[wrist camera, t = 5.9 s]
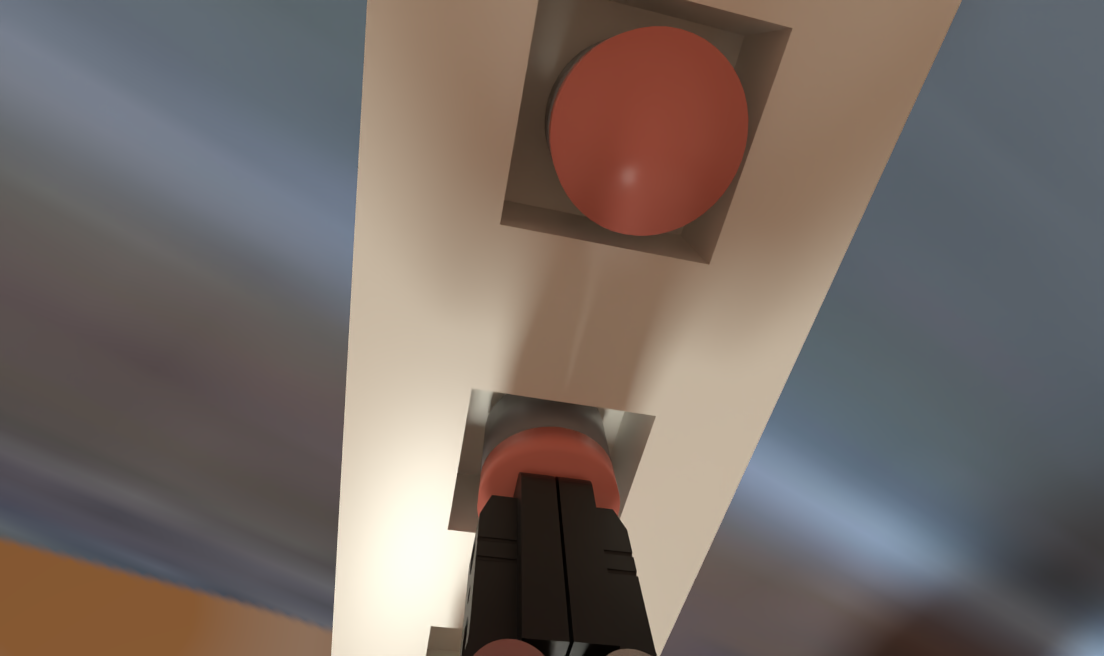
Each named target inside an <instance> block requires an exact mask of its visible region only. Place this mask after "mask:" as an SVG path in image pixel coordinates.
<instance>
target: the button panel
mask: <svg viewBox="0 0 1104 656" xmlns="http://www.w3.org/2000/svg"><path fill="white" fill-rule="evenodd" d="M961 1H962V0H367V16H366V35H365V53H364V71H363V89H362V107H361V125H360V144H359V162H358V180H357V198H356V216H355V234H354V253H353V271H352V289H351V307H350V325H349V343H348V361H347V380H346V398H345V416H344V434H343V452H342V470H341V489H340V507H339V525H338V543H337V561H336V579H335V598H334V616H333V634H332V653H331V656H460V649H461V640H462V630H463V620H464V612H465V611H464V610H465V600H466V592H467V581H468V571H469V564H470V559H471V554H472V549H473V544H474V539H475V534H476V529H477V524H478V519H479V517H478V512H477V503H478V493H479V483H480V474H481V464H482V454H483V444H484V434H485V425H486V421H487V417H488V415H489V413H490V411H491V409H492V408H493V406H494V405H495V404H496V403H497V402H498V400H500V399H501V398H502V397H503V396H504V395H506V394H512V395H519V396H525V397H532V398H539V399H546V400H552V401H559V402H566V403H572V404H579V405H586V406H592V407H597V408H598V410H599V412H600V415H601V418H602V422H603V426H604V431H605V435H606V439H607V444H608V448H609V452H610V457H611V461H612V465H613V470H614V474H615V478H616V483H617V487H618V491H619V496H620V509H619V513H618V517H619V519H620V520H621V522H622V523H623V525H624V526H625V527H626V529H627V531H628V536H629V540H630V544H631V548H632V557H634V561H635V565H636V570H637V576H638V578H639V583H640V587H641V591H642V595H643V600H644V604H645V608H646V613H647V617H648V621H649V625H650V630H651V634H652V638H653V642H654V647H655V650H656V654H657V656H660V654H661V652H662V650H663V648H664V645H665V643H666V641H667V639H668V637H669V635H670V632H671V630H672V628H673V626H674V624H675V622H676V619H677V617H678V615H679V613H680V611H681V609H682V606H683V604H684V602H685V600H686V598H687V596H688V593H689V591H690V589H691V587H692V585H693V583H694V580H695V578H696V576H697V574H698V572H699V569H700V567H701V565H702V563H703V561H704V559H705V556H706V554H707V552H708V550H709V548H710V546H711V543H712V541H713V539H714V537H715V535H716V533H717V530H718V528H719V526H720V524H721V522H722V520H723V517H724V515H725V513H726V511H727V509H728V507H729V504H730V502H731V500H732V498H733V496H734V494H735V491H736V489H737V487H738V485H739V483H740V480H741V478H742V476H743V474H744V472H745V470H746V467H747V465H748V463H749V461H750V459H751V457H752V454H753V452H754V450H755V448H756V446H757V444H758V441H759V439H760V437H761V435H762V433H763V431H764V428H765V426H766V424H767V422H768V420H769V418H770V415H771V413H772V411H773V409H774V407H775V405H776V402H777V400H778V398H779V396H780V394H781V392H782V389H783V387H784V385H785V383H786V381H787V378H788V376H789V374H790V372H791V370H792V368H793V365H794V363H795V361H796V359H797V357H798V355H799V352H800V350H801V348H802V346H803V344H804V342H805V339H806V337H807V335H808V333H809V331H810V329H811V326H812V324H813V322H814V320H815V318H816V316H817V313H818V311H819V309H820V307H821V305H822V303H823V300H824V298H825V296H826V294H827V292H828V289H829V287H830V285H831V283H832V281H833V279H834V276H835V274H836V272H837V270H838V268H839V266H840V263H841V261H842V259H843V257H844V255H845V253H846V250H847V248H848V246H849V244H850V242H851V240H852V237H853V235H854V233H855V231H856V229H857V227H858V224H859V222H860V220H861V218H862V216H863V214H864V211H865V209H866V207H867V205H868V203H869V200H870V198H871V196H872V194H873V192H874V190H875V187H876V185H877V183H878V181H879V179H880V177H881V174H882V172H883V170H884V168H885V166H886V164H887V161H888V159H889V157H890V155H891V153H892V151H893V148H894V146H895V144H896V142H897V140H898V138H899V135H900V133H901V131H902V129H903V127H904V125H905V122H906V120H907V118H908V116H909V114H910V112H911V109H912V107H913V105H914V103H915V101H916V98H917V96H918V94H919V92H920V90H921V88H922V85H923V83H924V81H925V79H926V77H927V75H928V72H929V70H930V68H931V66H932V64H933V62H934V59H935V57H936V55H937V53H938V51H939V49H940V46H941V44H942V42H943V40H944V38H945V36H946V33H947V31H948V29H949V27H950V25H951V23H952V20H953V18H954V16H955V14H956V12H957V9H958V7H959V5H960V3H961ZM650 26H667V27H673V28H679V29H683V30H686V31H688V32H691V33H694V34H696V35H698V36H700V37H702V38H704V39H705V40H707V41H708V42H709V43H711V44H712V45H713V46H715V47H716V48H717V49H718V50H719V51H720V52H721V53H722V54H723V55H724V56H725V57H726V58H727V60H728V61H729V62H730V64H731V65H732V67H733V68H734V70H735V72H736V74H737V76H738V77H739V79H740V82H741V85H742V87H743V90H744V93H745V98H746V102H747V109H748V136H747V142H746V147H745V151H744V154H743V158H742V161H741V163H740V166H739V168H738V171H737V173H736V175H735V176H734V178H733V180H732V182H731V184H730V185H729V187H728V188H727V189H726V191H725V192H724V194H723V195H722V196H721V197H720V198H719V199H718V201H717V202H716V203H715V204H714V205H713V206H712V207H711V208H710V209H708V210H707V211H706V212H705V213H704V214H702V215H701V216H700V217H698V218H697V219H695V220H694V221H692V222H690V223H688V224H686V225H685V226H683V227H680V228H678V229H675V230H673V231H670V232H666V233H662V234H657V235H649V236H634V235H626V234H621V233H618V232H614V231H611V230H609V229H606V228H604V227H602V226H600V225H598V224H597V223H595V222H593V221H592V220H590V219H589V218H588V217H586V216H585V215H584V214H583V213H582V212H581V211H580V210H579V209H578V208H577V207H576V206H575V205H574V204H573V203H572V201H571V200H570V198H569V197H568V196H567V194H566V192H565V191H564V189H563V187H562V185H561V183H560V181H559V178H558V175H557V173H556V170H555V167H554V164H553V161H552V158H551V155H550V152H549V150H548V146H547V142H546V136H545V112H546V105H547V102H548V98H549V95H550V92H551V89H552V87H553V85H554V83H555V81H556V79H557V77H558V76H559V74H560V73H561V71H562V70H563V69H564V67H565V66H566V65H567V64H568V63H569V62H570V61H571V60H572V58H574V57H575V56H576V55H577V54H578V53H580V52H581V51H582V50H584V49H586V48H587V47H589V46H590V45H593V44H595V43H597V42H599V41H602V40H605V39H607V38H610V37H613V36H616V35H618V34H621V33H624V32H627V31H630V30H634V29H637V28H643V27H650Z"/></svg>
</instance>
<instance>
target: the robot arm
mask: <svg viewBox="0 0 1104 656" xmlns="http://www.w3.org/2000/svg"><path fill="white" fill-rule="evenodd" d="M464 611H465V612H464V620H463V630H462V640H461V649H460V656H657V654H656V650H655V647H654V642H653V638H652V634H651V630H650V625H649V621H648V617H647V613H646V608H645V604H644V600H643V595H642V591H641V587H640V583H639V578H638V576H637V570H636V565H635V561H634V557H632V548H631V544H630V540H629V536H628V531H627V529H626V527H625V526H624V525H623V523H622V522H621V520H620V519H619V517H618V516H617V514H616V513H615V512H614V510H613V509H606V508H598V507H596V503H595V497H594V491H593V486H592V483H591V481H589V480H581V479H573V478H565V477H557V476H556V477H554V476H548V475H540V474H532V473H524V472H519V474H518V479H517V483H516V487H515V492H514V496H513V497H505V496H497V495H491V497H490V498H489V500H488V501H487V503H486V504H485V506H484V507H483V509H482V511H481V512H480V514H479V519H478V524H477V529H476V534H475V539H474V544H473V549H472V554H471V559H470V564H469V571H468V581H467V592H466V600H465V610H464Z"/></svg>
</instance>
